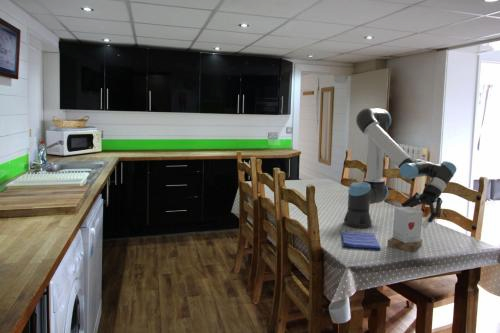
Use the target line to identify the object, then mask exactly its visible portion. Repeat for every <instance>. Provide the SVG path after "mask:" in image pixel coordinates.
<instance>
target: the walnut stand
mask: <svg viewBox="0 0 500 333" xmlns="http://www.w3.org/2000/svg"><path fill="white" fill-rule="evenodd" d="M422 241H423V239H422V238H420V242H413V243H403V242H401V241H399V240H397V239H395V238H393V236H391V237H390V238H389V239H387V247H390V248H395V249H399V250H404V251H407V252H411V253H415V252H416V251H417V250H419V248H420V247H422V244H423V242H422Z"/></svg>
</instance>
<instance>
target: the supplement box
mask: <svg viewBox="0 0 500 333" xmlns="http://www.w3.org/2000/svg"><path fill="white" fill-rule="evenodd" d="M423 213H424V211H423V210H421V209H417V208H415V207H403V206H401V207H394V215H393V216H394V218H393V228H392V237H393V238H395V239H397V240H399V241H401V242H403V243H413V242H420V239H421V234H422V224H423Z"/></svg>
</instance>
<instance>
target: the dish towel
mask: <svg viewBox="0 0 500 333" xmlns="http://www.w3.org/2000/svg"><path fill="white" fill-rule="evenodd" d="M340 232H341V241H342V247H343V248H345V249H355V250H367V251H381V249H382V247H381V246H380V244H379V242H378V239H377V237H376V235H375V233H374V232H354V231H353V232H352V231H348V230H342V229H341V230H340Z"/></svg>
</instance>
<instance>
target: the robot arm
mask: <svg viewBox="0 0 500 333" xmlns="http://www.w3.org/2000/svg"><path fill="white" fill-rule="evenodd" d="M355 118H356V119H355V123H356V126H357V127H358V128H359V131H361V133H362V134H364V135H365V136H367V161H366V177H365V178H364V179H363V181H356V182H352V183H350V184H349V186H348V194H347V195H348V197H347V198H348V199H347V211H346V212H345V216H344V218H343V224H344V225H345V226H348V227H349V228H355V229H368V228H371V227H372V223H373V222H372V221H373V220H372V217H371V213H370V205H374V204H379V203H382V202H384V201H385V200H386V199H387V198H388V195H389V188H388V186H387V184H386V180H385V179H384V177H383V172H384V170H383V169H384V168H383V167H384V154H385V155H386V156H387V157H388V159H390V160H391V161H392V162H393V163H394V164H395V165H396V167H398V168H399V174H400V176H401V177H403V179H415V178H420V177H427V178H430V180H429V181H428V183H426V184H427V185H425V187H424V189H423V190H422V193H419V192H415V193H414V194H413V195H412V196H410V197H409V198H407V199H406V200H405V201H404V202H402V203H401V207H412V208H415V207H417V206H419V205H425V206H429V210H430V213H429V214H428V215H427V216H426V218H425V220H424V221H422V225H421V227H423V228H424V229H427V228H428V226H429V224H430V223H432V222H433V220H434V219H435V218H440V217H441V210H442V204H443V200H442V197H440V196H442V193H443V192H444V190H445V189H446V187H447V186H448V184H449V182H450V181H451V180H452V178H453V177H454V175H455V174H456V172H457V166H456V165H455V164H454V163H453V162H451V161H447V160H446V161H442V163H440V164H438V163H434V162H431V161H427V160H424V159H419V158H418V159H417V158H416V159H415V160H413V159H412V157H411V156H410V155H409V154H408V153H407V152H406V151H405V150H404V149H403V148H402V147H401V145H398V143H397V142H396V141H395V140H394V139H393V138H391V136H390V135H389V134H388V129H389V127H390V126H391V124H392V117H391V114H390V113H389V111H387V110H386V109H383V108H368V107H367V108H363V109H361V110H360V111H359V112H358V114H357V115H356V117H355ZM434 203H435V206H434Z"/></svg>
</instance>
